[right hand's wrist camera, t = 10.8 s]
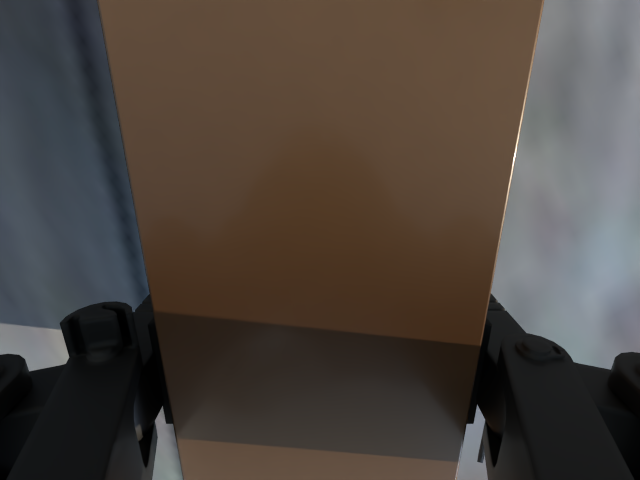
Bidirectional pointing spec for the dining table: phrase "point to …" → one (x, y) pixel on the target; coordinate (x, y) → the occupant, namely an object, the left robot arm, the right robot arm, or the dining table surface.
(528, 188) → the dining table surface
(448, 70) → the post
